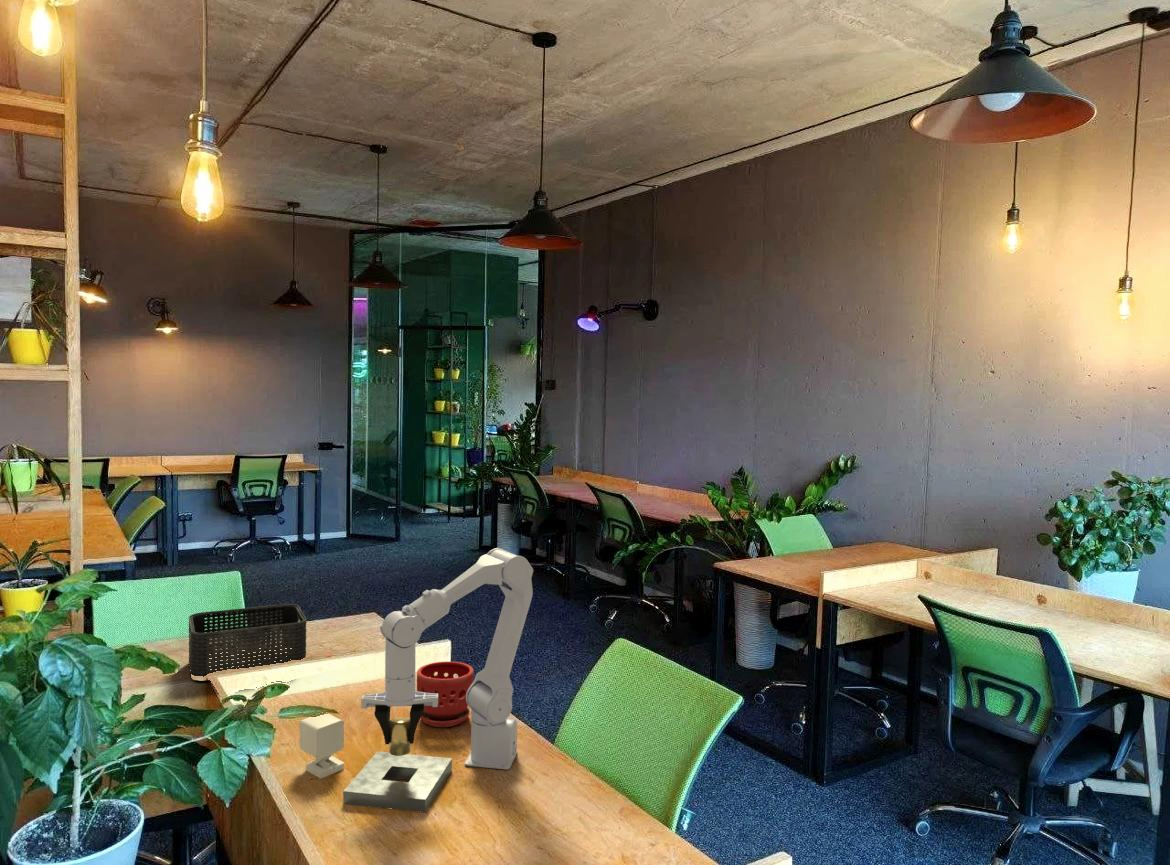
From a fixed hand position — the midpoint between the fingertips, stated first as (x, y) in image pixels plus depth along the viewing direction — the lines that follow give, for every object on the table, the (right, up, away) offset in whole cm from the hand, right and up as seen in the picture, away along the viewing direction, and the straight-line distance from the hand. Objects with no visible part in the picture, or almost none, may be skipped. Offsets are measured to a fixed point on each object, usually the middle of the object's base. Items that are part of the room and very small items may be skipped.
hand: (399, 741), depth 157 cm
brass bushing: (0, -2, 0) cm, 2 cm away
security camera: (-17, -8, +7) cm, 20 cm away
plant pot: (+3, -7, +31) cm, 32 cm away
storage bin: (-56, -3, +62) cm, 84 cm away
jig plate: (0, -9, 0) cm, 9 cm away
